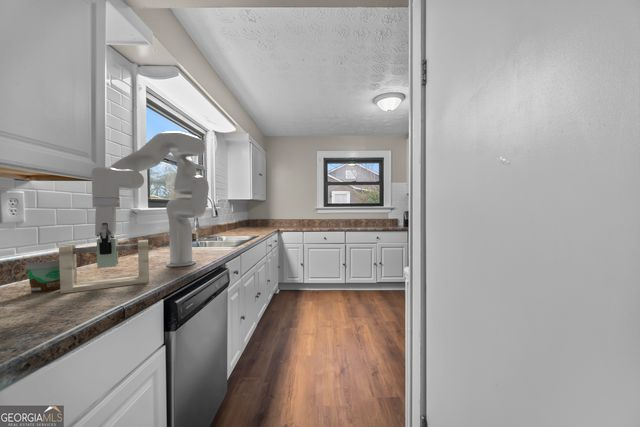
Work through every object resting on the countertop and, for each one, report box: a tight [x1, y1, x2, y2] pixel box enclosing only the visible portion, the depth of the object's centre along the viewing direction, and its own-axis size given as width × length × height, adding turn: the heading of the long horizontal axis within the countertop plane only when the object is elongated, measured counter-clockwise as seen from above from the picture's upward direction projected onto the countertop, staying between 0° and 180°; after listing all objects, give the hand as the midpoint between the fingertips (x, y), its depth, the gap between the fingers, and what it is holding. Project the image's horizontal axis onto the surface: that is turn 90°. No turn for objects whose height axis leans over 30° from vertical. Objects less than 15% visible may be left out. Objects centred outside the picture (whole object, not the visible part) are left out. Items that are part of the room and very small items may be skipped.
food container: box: [24, 259, 60, 294], centre depth 93 cm, size 12×6×10 cm, turn 168°
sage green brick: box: [96, 237, 119, 269], centre depth 96 cm, size 7×5×10 cm
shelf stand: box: [58, 239, 150, 295], centre depth 96 cm, size 6×24×15 cm, turn 121°
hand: (107, 252), depth 96 cm, fingers open, 9 cm apart
